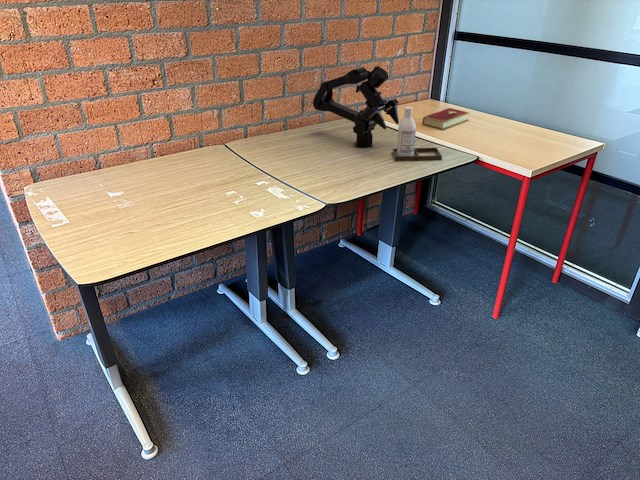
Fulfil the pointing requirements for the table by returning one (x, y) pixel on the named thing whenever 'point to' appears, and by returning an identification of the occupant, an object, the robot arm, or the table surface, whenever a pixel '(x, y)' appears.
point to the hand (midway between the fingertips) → (392, 126)
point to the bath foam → (406, 134)
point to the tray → (416, 155)
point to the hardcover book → (445, 118)
